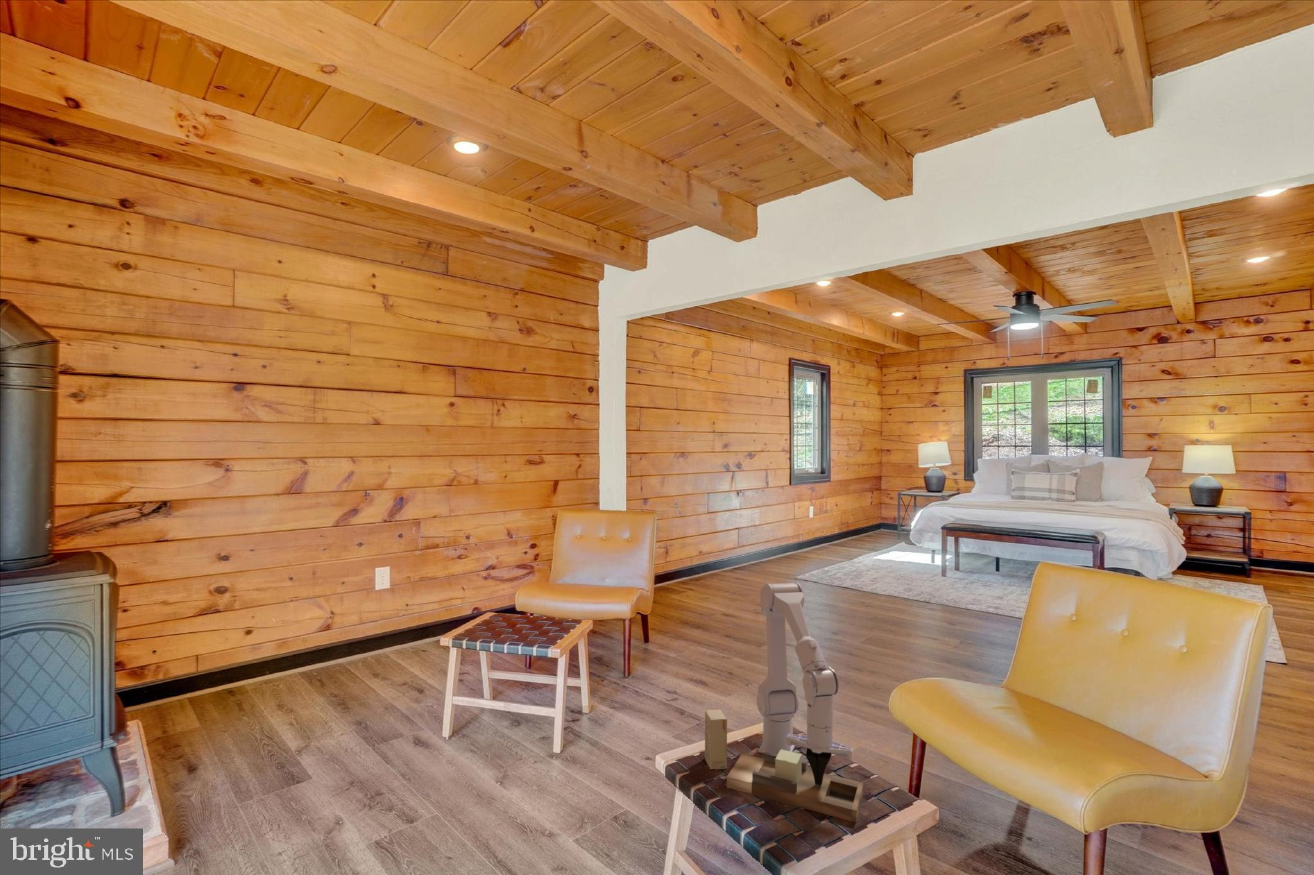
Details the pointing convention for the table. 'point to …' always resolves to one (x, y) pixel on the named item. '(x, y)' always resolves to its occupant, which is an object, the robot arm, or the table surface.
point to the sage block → (788, 765)
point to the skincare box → (716, 739)
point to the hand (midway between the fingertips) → (818, 782)
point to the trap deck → (797, 787)
